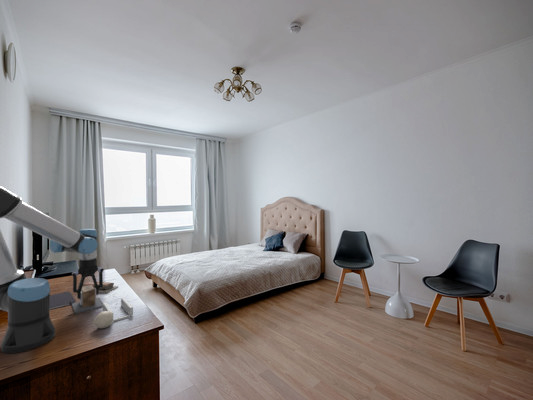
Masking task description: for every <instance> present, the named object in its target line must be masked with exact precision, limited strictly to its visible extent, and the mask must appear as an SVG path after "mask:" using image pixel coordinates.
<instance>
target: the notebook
mask: <svg viewBox="0 0 533 400" xmlns="http://www.w3.org/2000/svg"><path fill="white" fill-rule="evenodd" d="M73 303H77V300H76V298H75V297H74V295H72V293H71V292H70V291H69V290H67V291H63V292H59V293H54V294H50V310H53V309H57V308H62V307H65V306H72V304H73Z"/></svg>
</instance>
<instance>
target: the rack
mask: <svg viewBox="0 0 533 400" xmlns="http://www.w3.org/2000/svg"><path fill="white" fill-rule="evenodd" d="M102 303H103V307H102V312H103V311H110V312H111V313H112V314H113V315H114V312H113V310H112V309H111V307H110V306H109V304H108V303H107V302H106V301H105V302H103V301H102ZM120 306H121V308H122V309H123V310H124V311H125V312H126V314H128V315H125V316H122V317H118V318H113V321H112V323H114V322H115V323H116V322H118V321H121V320H124V319H128V318H131V317H133V316H134V306H133V305H131V304H130V303H129V301H128V299H126V298H125V297H122V298H120ZM132 315H133V316H132Z"/></svg>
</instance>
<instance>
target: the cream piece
mask: <svg viewBox="0 0 533 400" xmlns="http://www.w3.org/2000/svg"><path fill="white" fill-rule="evenodd" d="M112 321H113V322H114V313H113V314H112V313H111V312H110V311H103V310H102V311H101V312H99V313H98V314H96V316H95V317H94V318H93V321H92V322H93V326H95V327H96V328H98V329H106V328H108V327H109V326H112V325H111V324H113V322H112Z"/></svg>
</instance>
